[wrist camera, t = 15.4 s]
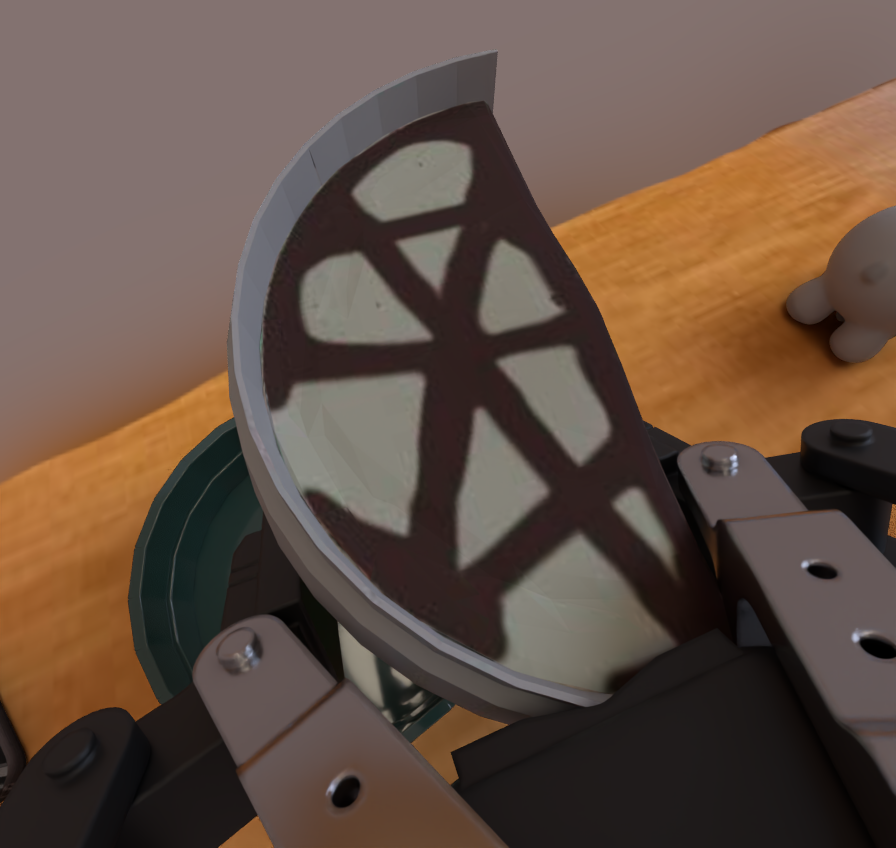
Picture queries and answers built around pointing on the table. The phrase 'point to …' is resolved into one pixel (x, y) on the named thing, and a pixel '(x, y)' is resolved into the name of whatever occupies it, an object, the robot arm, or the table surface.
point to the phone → (9, 755)
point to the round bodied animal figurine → (855, 290)
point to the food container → (453, 415)
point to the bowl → (206, 581)
